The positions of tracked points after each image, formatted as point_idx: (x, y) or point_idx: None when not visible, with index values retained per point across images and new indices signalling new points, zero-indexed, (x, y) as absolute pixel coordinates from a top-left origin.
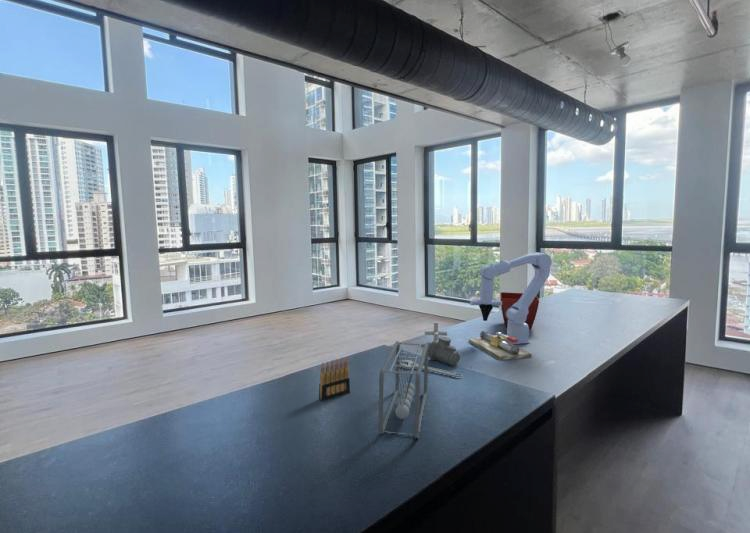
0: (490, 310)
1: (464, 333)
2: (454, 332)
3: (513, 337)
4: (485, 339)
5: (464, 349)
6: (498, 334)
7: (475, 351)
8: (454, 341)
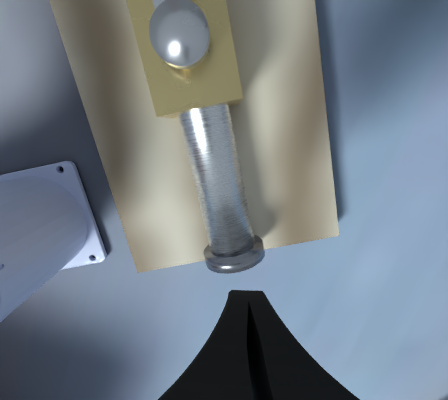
0: (181, 393)
1: None
2: None
3: None
4: None
5: (429, 69)
6: (194, 6)
7: (374, 18)
8: (414, 239)
